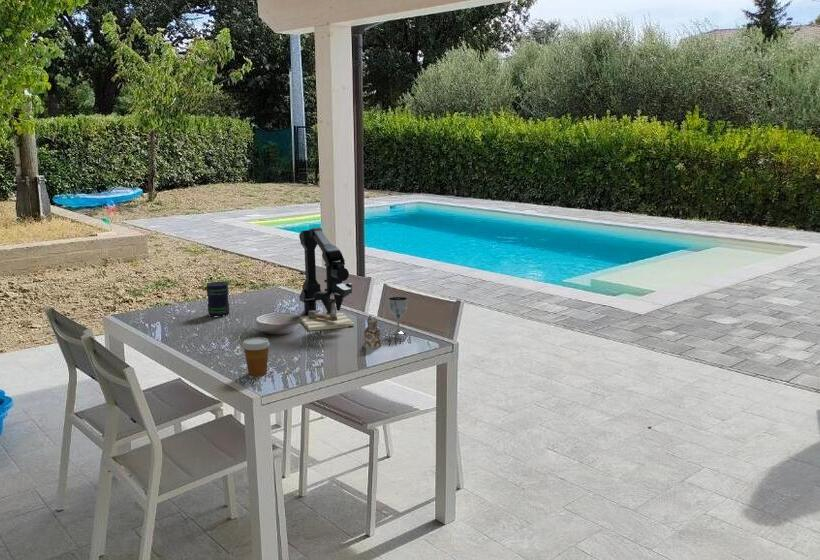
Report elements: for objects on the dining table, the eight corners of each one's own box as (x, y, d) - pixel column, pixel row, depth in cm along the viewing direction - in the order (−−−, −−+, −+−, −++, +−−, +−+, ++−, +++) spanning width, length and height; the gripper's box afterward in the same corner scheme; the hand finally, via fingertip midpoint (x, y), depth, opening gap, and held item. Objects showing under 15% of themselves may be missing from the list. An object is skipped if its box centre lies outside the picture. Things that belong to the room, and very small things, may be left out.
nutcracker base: (300, 320, 344) (299, 308, 343) (342, 316, 351) (342, 304, 350) (309, 330, 326) (308, 318, 325) (354, 326, 332) (353, 314, 331)
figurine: (364, 348, 298) (363, 319, 296) (362, 344, 305) (361, 315, 303) (382, 347, 299) (381, 318, 297) (379, 342, 306) (379, 314, 304)
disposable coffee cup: (238, 376, 267) (236, 343, 264) (253, 368, 275) (251, 336, 273) (262, 378, 263) (260, 345, 261) (276, 370, 272) (274, 338, 270)
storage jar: (211, 318, 349) (209, 286, 346) (205, 314, 358) (203, 283, 355) (232, 315, 354) (230, 284, 351) (226, 311, 362) (224, 280, 360)
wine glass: (408, 330, 325) (408, 296, 322) (406, 335, 317) (406, 300, 314) (390, 330, 325) (389, 296, 323) (387, 335, 318) (387, 300, 315)
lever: (307, 317, 342) (306, 296, 340) (312, 315, 344) (312, 294, 342) (332, 322, 331) (331, 301, 329) (338, 321, 334) (337, 299, 332)
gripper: (332, 282, 318) (333, 318, 321) (360, 275, 333) (361, 310, 336) (313, 280, 325) (314, 315, 328) (341, 273, 340) (342, 307, 343)
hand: (333, 312), depth 334 cm, fingers open, 6 cm apart
